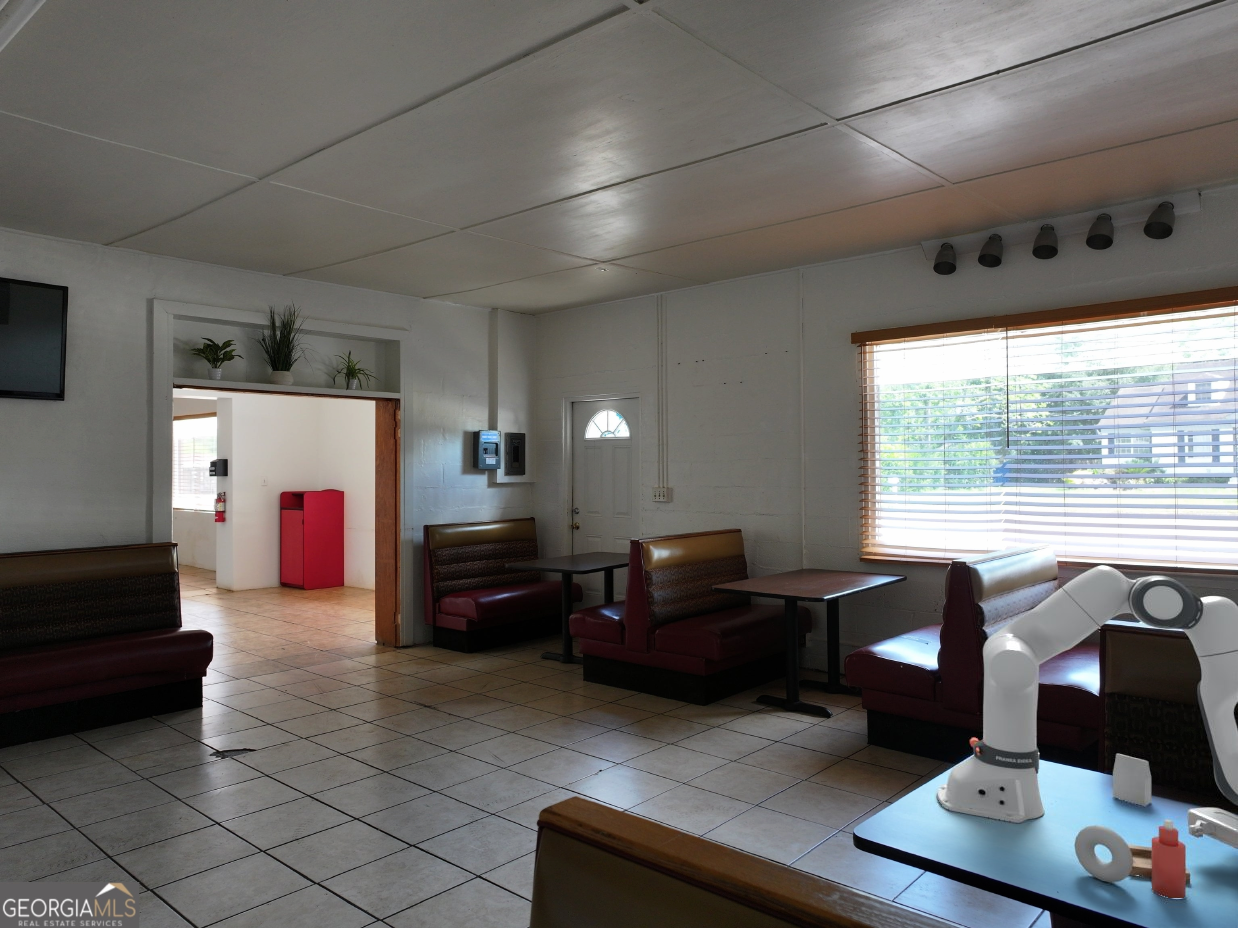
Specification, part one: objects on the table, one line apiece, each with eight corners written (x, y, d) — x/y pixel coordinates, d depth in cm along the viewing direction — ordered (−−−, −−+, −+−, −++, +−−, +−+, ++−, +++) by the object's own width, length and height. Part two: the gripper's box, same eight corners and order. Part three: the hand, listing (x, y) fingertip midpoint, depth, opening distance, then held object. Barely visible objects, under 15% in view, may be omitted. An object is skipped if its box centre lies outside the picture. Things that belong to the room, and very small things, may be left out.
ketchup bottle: (1156, 897, 150) (1156, 825, 150) (1147, 883, 155) (1147, 813, 155) (1189, 901, 149) (1190, 828, 149) (1179, 887, 154) (1179, 817, 154)
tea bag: (1144, 807, 190) (1144, 763, 190) (1112, 797, 196) (1112, 755, 196) (1151, 803, 193) (1151, 759, 193) (1119, 793, 198) (1119, 751, 198)
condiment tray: (1129, 875, 158) (1129, 865, 158) (1114, 852, 168) (1114, 843, 168) (1190, 883, 155) (1190, 873, 155) (1172, 859, 165) (1172, 850, 165)
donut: (1136, 887, 154) (1136, 833, 154) (1129, 893, 151) (1129, 838, 151) (1078, 867, 161) (1079, 815, 161) (1071, 872, 159) (1071, 820, 159)
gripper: (1217, 796, 169) (1165, 803, 165) (1328, 839, 150) (1272, 849, 146) (1217, 827, 169) (1165, 835, 165) (1328, 874, 150) (1272, 885, 146)
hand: (1216, 842), depth 155 cm, fingers open, 8 cm apart
